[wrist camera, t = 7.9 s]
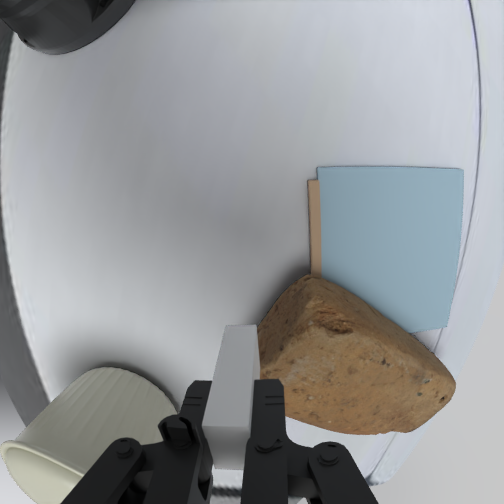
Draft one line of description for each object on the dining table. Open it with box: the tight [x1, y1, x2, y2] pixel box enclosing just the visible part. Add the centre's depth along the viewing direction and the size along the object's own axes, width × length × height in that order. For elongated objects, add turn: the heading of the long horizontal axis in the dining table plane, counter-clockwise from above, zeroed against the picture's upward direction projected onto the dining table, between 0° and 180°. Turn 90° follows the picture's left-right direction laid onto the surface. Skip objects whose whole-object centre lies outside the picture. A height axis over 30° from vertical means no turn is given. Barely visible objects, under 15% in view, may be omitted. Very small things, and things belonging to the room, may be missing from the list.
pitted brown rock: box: [257, 275, 456, 435], centre depth 25 cm, size 11×8×20 cm
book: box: [308, 167, 464, 333], centre depth 26 cm, size 16×15×1 cm
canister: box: [0, 367, 177, 504], centre depth 23 cm, size 18×18×21 cm
